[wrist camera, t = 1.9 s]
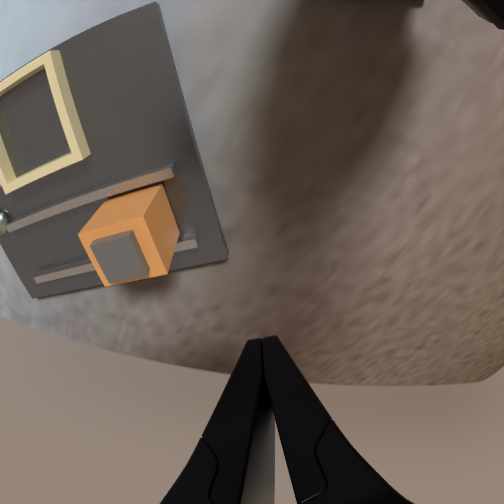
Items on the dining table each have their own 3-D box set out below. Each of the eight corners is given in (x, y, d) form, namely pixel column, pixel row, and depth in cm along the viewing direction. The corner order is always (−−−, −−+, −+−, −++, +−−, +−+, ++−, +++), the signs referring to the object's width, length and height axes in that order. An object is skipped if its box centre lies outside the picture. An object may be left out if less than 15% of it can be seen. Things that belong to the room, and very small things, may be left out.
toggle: (162, 183, 19) (140, 221, 14) (179, 232, 21) (165, 281, 16) (106, 199, 19) (73, 240, 15) (125, 245, 21) (101, 293, 17)
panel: (158, 4, 14) (151, -1, 12) (228, 252, 23) (227, 265, 21) (-43, 118, 15) (-55, 124, 14) (36, 293, 24) (28, 304, 23)
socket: (59, 50, 14) (49, 50, 13) (91, 154, 18) (83, 159, 17) (-16, 99, 14) (-27, 102, 13) (14, 187, 18) (5, 194, 17)
